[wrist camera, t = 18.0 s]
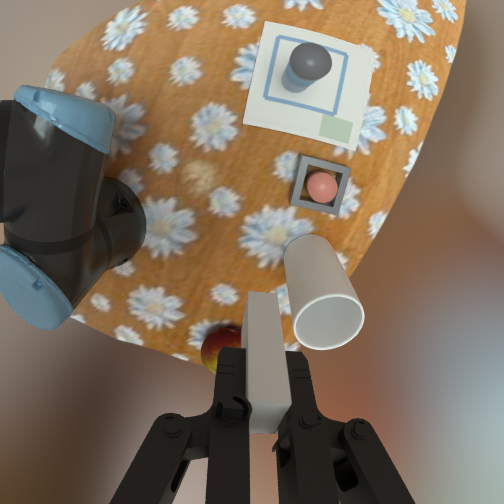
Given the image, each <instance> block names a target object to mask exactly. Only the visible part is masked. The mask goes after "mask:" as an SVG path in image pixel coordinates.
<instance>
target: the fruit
mask: <svg viewBox="0 0 504 504" xmlns="http://www.w3.org/2000/svg"><path fill="white" fill-rule="evenodd" d="M223 346H226V347H236V348H241V332H239V331H237V330H235V329H231V328H220V329H217V330H215V331H213V332H211V333H210V334H209V335H208V336H207V337H206V338H205V340H204V342H203V344H202V348H201V358H202V361H203V364H204V365H205V367H206V368H207V369H208V370H209V371H210V372H212V373H213V374H215V375H216V368H217V359H218V354H219V352H220V351H221V349H222V348H223Z"/></svg>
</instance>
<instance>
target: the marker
mask: <svg viewBox="0 0 504 504" xmlns="http://www.w3.org/2000/svg"><path fill="white" fill-rule="evenodd" d="M331 67H332V59H331V56H330V54H329V52H328V51H327V50H326V49H325V48H324V47H322V46H321V45H318V44H316V43H309V42H308V43H302V44H300V45H298V46H297V47H295V48H294V50H293V51H292V53H291V56H290V58H289V62H288V64H287V67H286V69H285V71H284V73H283V75H282V78H281V82H282V85H283V87H284V88H285V89H286V90H287V91H289V92H292V93H300V92H302V91H304V90H305V89H306V88H308V87H309V86H310V85H312V84H313V83H314V82H316V81H317V80H319V79H321V78H323V77H324V76H326V75H327V74H328V73H329V72H330V70H331Z"/></svg>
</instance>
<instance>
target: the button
mask: <svg viewBox="0 0 504 504" xmlns="http://www.w3.org/2000/svg"><path fill="white" fill-rule="evenodd" d="M305 187H306V190H307V192H308V193H309V195H310V196H311V198H312V199H313V200H315V201H316V202H319V203H326V202H329V201H331V200H332V199H333V198H334V197H335V196H336V194H337V190H338V186H337V182H336V180H335V179H334V178H333V177H332V176H331V175H329V174H328V173H327V172H325V171H321V170H318V171H314V172H312V173H311V174H309V176H308V177H307V179H306V182H305Z"/></svg>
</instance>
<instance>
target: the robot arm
mask: <svg viewBox="0 0 504 504" xmlns="http://www.w3.org/2000/svg"><path fill="white" fill-rule="evenodd" d="M14 99H15V100H1V101H0V223H4V237H5V241H4V244H3V245H2V244H1V245H0V293H1V295H2V296H3V298H4V299H5V301H6V302H7V303H8V304H9V306H10V307H11V308H12V309H13V310H14V311H15V312H16V313H17V314H18V315H19V316H20V317H21V318H22V319H24V320H25V321H26V322H28V323H29V324H31V325H33V326H35V327H37V328H40V329H43V330H51V329H56V328H57V327H59V326H60V325H61V324H62V323H63V322H64V321H65V320H66V319H67V318H68V317H70V316H71V315H72V314H73V310H74V309H75V308H76V306H77V305H78V304H79V303H80V301H81V300H82V299H83V298H84V296H85V295H86V294H87V293H88V292H89V290H90V289H91V288H92V287H93V285H94V284H95V283H96V282H97V281H98V280H99V278H100V277H101V276H102V275H103V274H104V272H105V271H107V270H109V269H112V268H114V267H117V266H120V265H122V264H124V263H126V262H127V261H129V260H130V259H131V258H132V257H133V256H134V255H135V254H136V252H137V251H138V250H139V249H140V247H141V245H142V243H143V241H144V238H145V232H146V221H145V215H144V211H143V208H142V206H141V204H140V202H139V200H138V198H137V197H136V195H135V194H134V193H133V192H132V190H131V189H130V188H128V187H127V186H126V185H125V184H123V183H122V182H120V181H118V180H116V179H113V178H109V177H103V176H104V172H105V167H106V163H107V159H108V154H110V152H111V149H110V143H111V139H112V134H113V130H114V126H115V115H114V113H113V111H112V109H111V108H110V107H108V106H107V105H104V104H102V103H99V102H96V101H93V100H90V99H86V98H83V97H79V96H76V95H72V94H68V93H64V92H60V91H55V90H51V89H46V88H40V87H33V86H28V85H22V86H20V87H19V88H18V90H17V91H16V93H15V94H14ZM277 429H278V440H277V441H276V443H275V444H274V446H273V448H272V452H274V451H275V450H276V457H277V474H278V491H279V504H339V501H340V503H341V504H415V502H414V500H413V499H412V497H411V495H410V493H409V491H408V489H407V488H406V486H405V484H404V482H403V480H402V478H401V477H400V475H399V473H398V471H397V469H396V468H395V466H394V464H393V462H392V461H391V459H390V457H389V455H388V453H387V452H386V450H385V448H384V446H383V444H382V443H381V441H380V439H379V438H378V436H377V434H376V432H375V431H374V429H373V427H372V426H371V424H370V423H369V422H367V421H366V420H364V419H359V418H356V419H352V420H350V421H348V422H347V423H344V422H339V421H335V420H331V419H328V418H326V417H325V416H323V415H322V414H321V413H320V411H319V410H318V408H317V405H316V401H315V395H314V390H313V385H312V380H311V375H310V371H309V365H308V361H307V359H306V357H305V356H304V355H303V353H302V352H295V351H285V348H284V340H283V333H282V326H281V319H280V312H279V305H278V298H277V294H273V293H263V292H255V291H248V295H247V301H246V307H245V312H244V318H243V324H242V331H241V348H236V347H226V346H223V348H222V349H221V351H220V352H219V354H218V359H217V368H216V378H215V388H214V399H213V404H212V406H211V408H210V409H209V410H208V411H207V412H206V413H204V414H202V415H198V416H193V417H186V418H184V417H183V416H181V415H179V414H175V413H167V414H163V415H161V416H159V417H158V418H157V419H156V421H154V423H153V425H152V427H151V429H150V431H149V433H148V434H147V436H146V438H145V439H144V441H143V443H142V445H141V447H140V449H139V450H138V452H137V454H136V456H135V458H134V460H133V462H132V463H131V465H130V467H129V469H128V471H127V472H126V474H125V476H124V478H123V480H122V481H121V483H120V485H119V487H118V489H117V491H116V492H115V494H114V496H113V498H112V500H111V502H110V503H109V504H172V502H173V500H174V498H175V496H176V494H177V491H178V489H179V487H180V485H181V482H182V480H183V477H184V475H185V473H186V471H187V468H188V466H189V464H190V461H191V460H194V459H201V458H206V457H208V470H207V485H206V501H205V504H250V457H249V456H250V453H249V433H263V434H275V433H276V431H277Z"/></svg>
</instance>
